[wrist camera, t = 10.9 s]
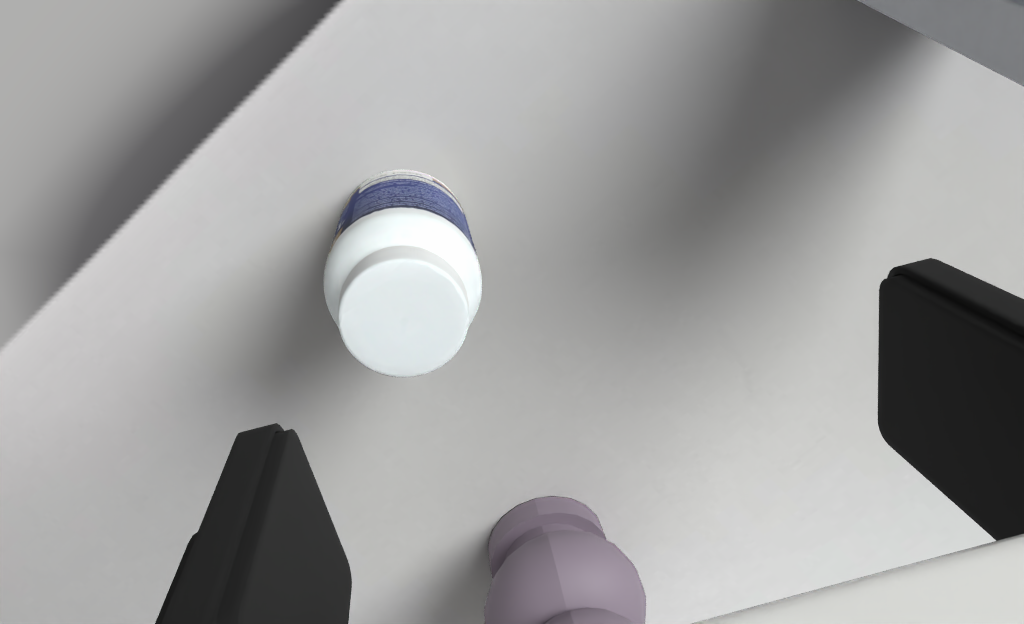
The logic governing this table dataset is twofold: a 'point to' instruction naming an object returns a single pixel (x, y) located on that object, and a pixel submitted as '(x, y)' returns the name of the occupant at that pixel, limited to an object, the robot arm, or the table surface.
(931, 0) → the scrub brush
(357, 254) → the pill bottle
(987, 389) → the robot arm
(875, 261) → the table surface
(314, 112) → the table surface
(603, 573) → the mauve rounded figurine
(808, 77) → the table surface
